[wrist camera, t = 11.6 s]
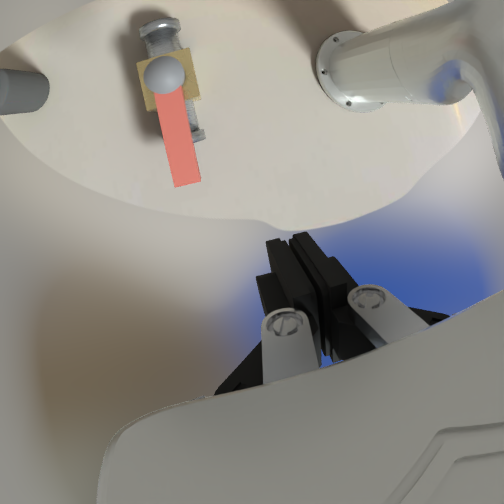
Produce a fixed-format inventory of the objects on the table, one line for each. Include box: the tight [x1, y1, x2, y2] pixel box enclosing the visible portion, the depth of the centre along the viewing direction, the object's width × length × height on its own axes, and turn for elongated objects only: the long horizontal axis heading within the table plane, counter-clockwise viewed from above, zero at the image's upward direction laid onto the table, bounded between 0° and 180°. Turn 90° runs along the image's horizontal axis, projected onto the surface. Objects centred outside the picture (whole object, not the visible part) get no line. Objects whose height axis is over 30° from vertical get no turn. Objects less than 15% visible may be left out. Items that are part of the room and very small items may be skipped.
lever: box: [143, 56, 201, 187], centre depth 28 cm, size 14×4×3 cm, turn 9°
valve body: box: [136, 18, 206, 143], centre depth 29 cm, size 6×16×6 cm, turn 11°
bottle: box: [0, 69, 49, 115], centre depth 21 cm, size 6×6×15 cm
